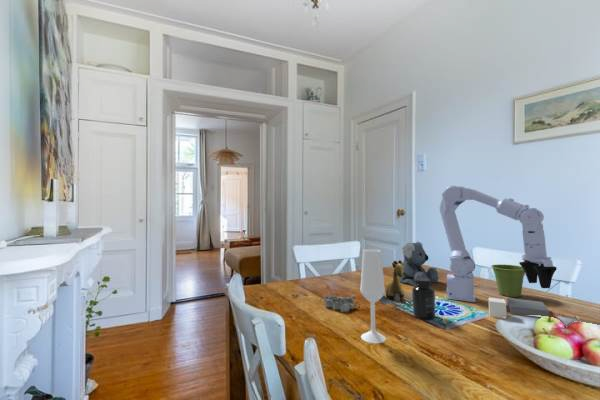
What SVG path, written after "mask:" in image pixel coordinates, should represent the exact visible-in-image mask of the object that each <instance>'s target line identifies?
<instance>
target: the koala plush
mask: <svg viewBox="0 0 600 400" xmlns="http://www.w3.org/2000/svg"><path fill="white" fill-rule="evenodd" d="M401 249H402V250H401V251H402V254H403V262H402V263H404V264H403V265H402V266H403V276H402V277H399V280H400V283H402V284H409V285H411V286H413V287H415V286H416V285H415V279H416V278H427V279H430V280H431V284H432V283H433V284H436V283H438V282H439V273H438V270H437V268H436V267H429V268H428V269H427V270H425V268H424V266H422V265H424V264H425V263H426V261H427V262H428V261H429V255H428V254H427V253H426V251H425V249H424V247H423V243H422V242H421V241H416V242H406V243H404V245H403V246H402V247H401Z"/></svg>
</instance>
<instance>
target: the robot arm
mask: <svg viewBox="0 0 600 400" xmlns="http://www.w3.org/2000/svg"><path fill="white" fill-rule="evenodd" d="M468 200H469V201H472V200H473V201H476V202H479V203H481V204H483V205H484V204H485V205H487V206H489V207H491V208H494V209H495V210H496V213H498V214H500V215H501V216H502V215H503V216H505V217H507V218H510V219H511V220H512V219H513V220H514V221H519V222H520V224H521V225H522V238H523V239H522V241H523V250H524V254H522V255H521V258H522V259H521V260H522V261H519V262H518V264H519V266H522V268H523V270H524V272H525V276H526V279H527V282H528V283H529V284H538V283H537V282H538V281H539V285H540V286H539V287H540V288H541V289H551V285H552V280H553V276H554V274H555V272H556V271H557V266H554V264H553V263H554V262H553V260H552V257H550V256H548V255H547V248H546V247H547V246H546V238H545V237H546V235H545V230H544V225H543V221H544V214H543V212H542V211H541V210H540V209H537V208H536V207H530V205H529V204H525V205H524V204H522V203H519V202H517V201H515V199H514V198H511V197H509V198H503V199H502V198H501V199H498V198H496V197H494V196H491V195H488V194H486V193H484V192H481V191H479V190H476V189H472V188H468V187H464V186H456V185H449V186H447V187H446V188H445V189H444V190H443V192H441V201H440V205H439V212H440V215H441V220H442V224H443V226H444V230H445V233H446V238H447V240H448V245H449V247H450V255H449V259H450V263H449V270H450V271H451V274H450V273H448V274H446V295H447V296H446V299H448V300H455V301H463V302H471V303H475V302H476V295H475V285H474V284H475V283H474V281H475V277H474V273H473V272H474V271H475V269H476V263H475V261H474V260H473V259H472V256H471V255H470V253H469V251H468V250H467V249H466V246H465V242H464V238H463V236H462V235H463V234H462V231H461V228H460V224H459V221H458V219H457V218H458V217H457V215H456V210H457V209H458V207H460V205H461V204H463V203H465V202H466V201H468Z"/></svg>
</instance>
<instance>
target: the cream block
mask: <svg viewBox="0 0 600 400" xmlns="http://www.w3.org/2000/svg"><path fill="white" fill-rule="evenodd" d="M488 314H489V317H492V318H498V319H503V318H502V317H507V301H506V299H502V298H496V297H488Z"/></svg>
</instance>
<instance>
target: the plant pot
mask: <svg viewBox="0 0 600 400" xmlns="http://www.w3.org/2000/svg"><path fill="white" fill-rule="evenodd" d="M491 268H492V270H493V273H494V276H495V281H496V286H497V289H498V294H499V295H503V296H505V297H507V298H517V297H519V298H520V297H522V290H523V285H524V279H525V278H524V276H526V274H525V272H524V270H523V268H522V266H521V265H515V264H492V265H491Z"/></svg>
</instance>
